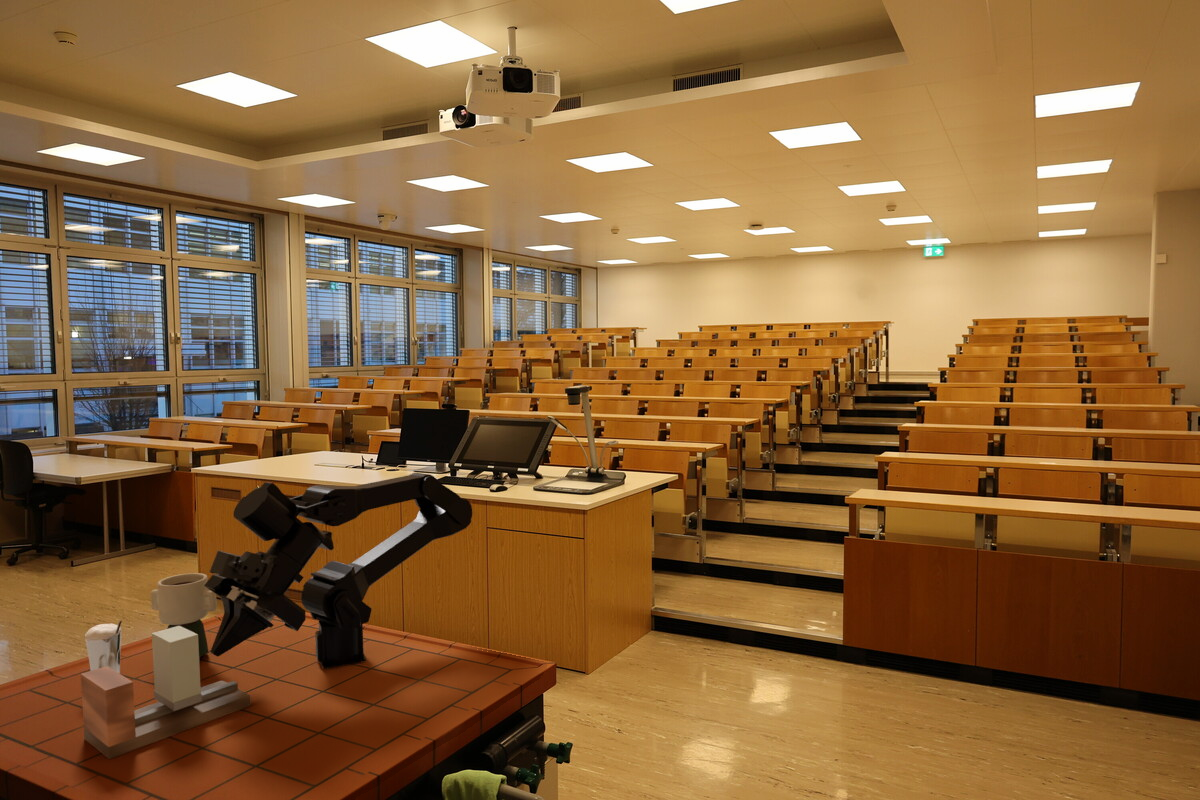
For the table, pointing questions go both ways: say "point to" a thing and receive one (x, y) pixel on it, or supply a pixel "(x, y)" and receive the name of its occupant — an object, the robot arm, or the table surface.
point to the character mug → (185, 604)
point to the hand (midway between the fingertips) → (214, 654)
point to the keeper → (176, 667)
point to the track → (145, 712)
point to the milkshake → (104, 646)
